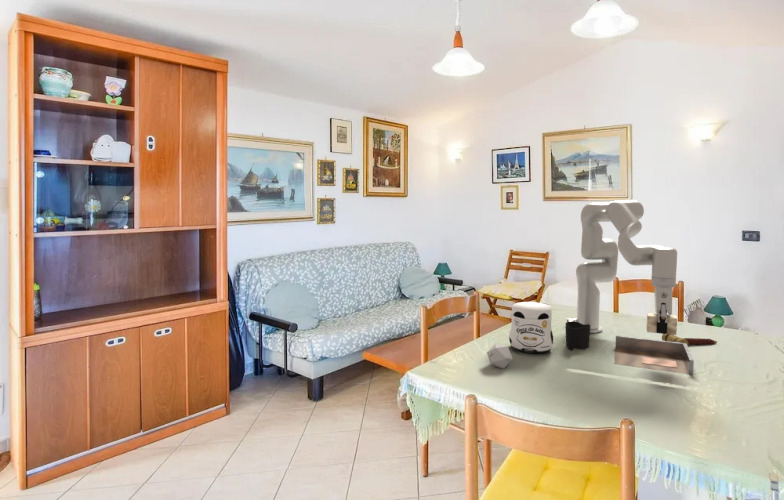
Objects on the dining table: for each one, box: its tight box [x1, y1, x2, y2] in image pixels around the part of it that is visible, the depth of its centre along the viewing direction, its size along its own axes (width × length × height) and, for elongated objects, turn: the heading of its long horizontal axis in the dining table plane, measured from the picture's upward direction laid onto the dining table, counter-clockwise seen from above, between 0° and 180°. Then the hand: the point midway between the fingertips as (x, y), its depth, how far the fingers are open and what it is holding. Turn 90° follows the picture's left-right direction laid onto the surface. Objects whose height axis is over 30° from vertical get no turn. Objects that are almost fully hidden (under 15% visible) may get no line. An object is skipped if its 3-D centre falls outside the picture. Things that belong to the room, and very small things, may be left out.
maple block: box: [646, 312, 678, 336], centre depth 162 cm, size 9×5×6 cm, turn 63°
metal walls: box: [614, 335, 695, 376], centre depth 167 cm, size 24×20×5 cm
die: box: [486, 343, 513, 369], centre depth 166 cm, size 8×9×10 cm
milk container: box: [508, 301, 554, 354], centre depth 183 cm, size 17×17×18 cm
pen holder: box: [565, 321, 591, 351], centre depth 184 cm, size 9×9×10 cm
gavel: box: [661, 334, 718, 347], centre depth 186 cm, size 21×5×10 cm
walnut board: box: [614, 348, 693, 376], centre depth 167 cm, size 24×20×1 cm
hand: (661, 330), depth 163 cm, fingers closed on maple block, 5 cm apart
